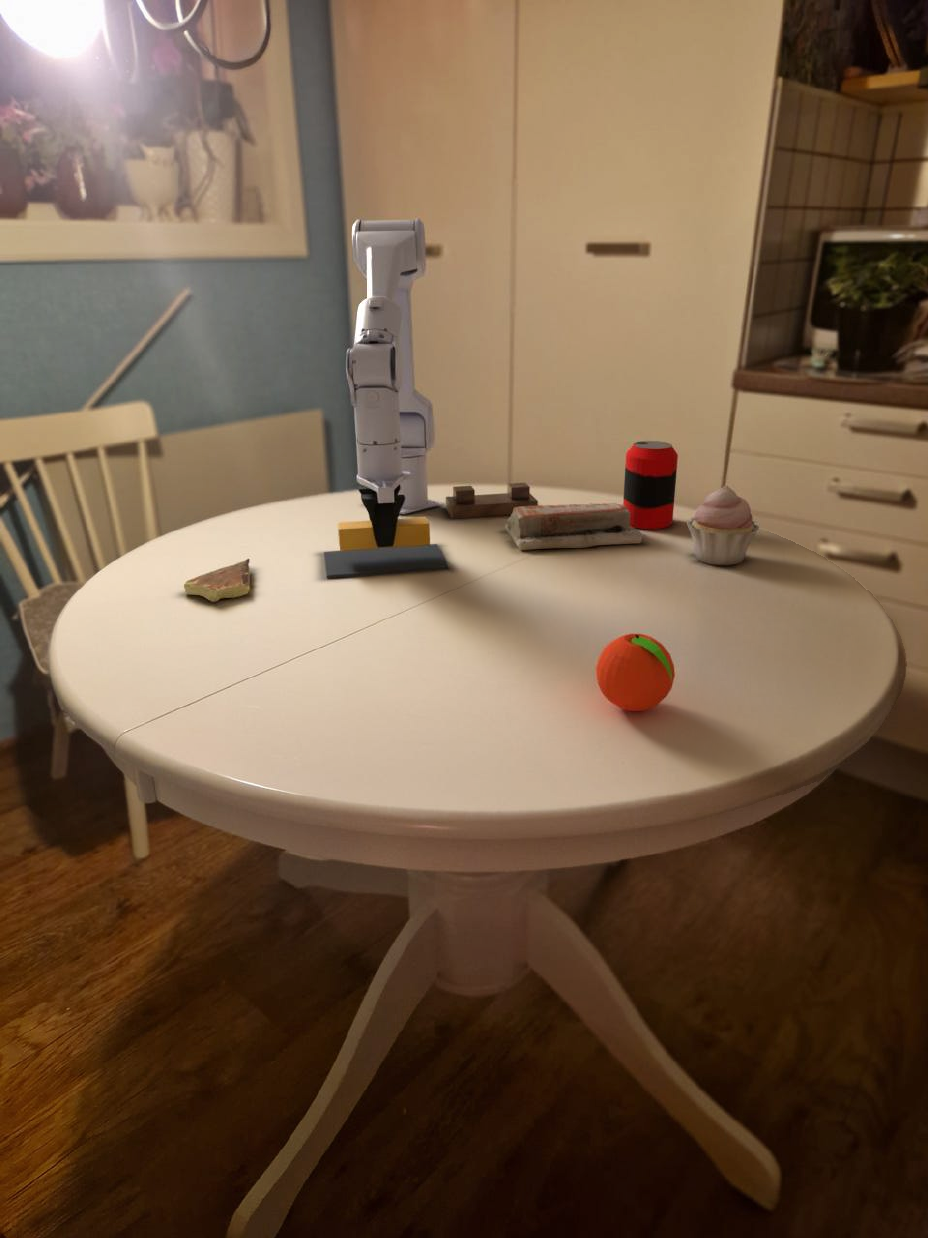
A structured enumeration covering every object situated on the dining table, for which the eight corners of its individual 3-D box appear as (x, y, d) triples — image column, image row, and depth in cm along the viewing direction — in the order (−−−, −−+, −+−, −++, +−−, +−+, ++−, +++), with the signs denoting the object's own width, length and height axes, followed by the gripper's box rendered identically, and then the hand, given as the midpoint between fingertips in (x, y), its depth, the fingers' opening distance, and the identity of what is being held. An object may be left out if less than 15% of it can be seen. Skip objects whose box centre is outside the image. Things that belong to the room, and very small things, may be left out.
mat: (326, 578, 112) (326, 575, 112) (324, 554, 121) (323, 551, 121) (448, 569, 114) (448, 566, 114) (437, 546, 123) (437, 543, 123)
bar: (340, 551, 114) (338, 529, 113) (339, 543, 117) (337, 522, 116) (430, 545, 116) (429, 523, 115) (426, 537, 119) (426, 516, 118)
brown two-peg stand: (452, 518, 136) (451, 493, 135) (445, 508, 142) (445, 484, 140) (537, 512, 139) (538, 488, 137) (528, 503, 144) (528, 479, 143)
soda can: (640, 513, 138) (645, 437, 133) (681, 522, 133) (688, 444, 128) (612, 523, 133) (616, 445, 128) (654, 533, 128) (660, 452, 123)
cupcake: (753, 550, 120) (762, 479, 116) (756, 572, 111) (765, 496, 108) (684, 545, 122) (690, 475, 118) (682, 567, 114) (688, 492, 110)
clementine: (696, 716, 77) (704, 643, 74) (639, 738, 74) (644, 663, 71) (634, 682, 83) (639, 614, 81) (578, 701, 80) (581, 631, 77)
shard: (249, 569, 115) (248, 556, 115) (289, 580, 111) (288, 566, 111) (182, 593, 107) (180, 579, 107) (223, 606, 103) (221, 591, 103)
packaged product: (519, 518, 118) (505, 500, 128) (518, 552, 120) (505, 532, 129) (645, 511, 121) (622, 494, 130) (643, 544, 123) (620, 525, 132)
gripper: (416, 450, 105) (420, 556, 110) (402, 429, 118) (406, 524, 124) (358, 453, 104) (365, 560, 109) (351, 431, 117) (357, 528, 122)
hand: (383, 541), depth 116 cm, fingers closed on bar, 3 cm apart
